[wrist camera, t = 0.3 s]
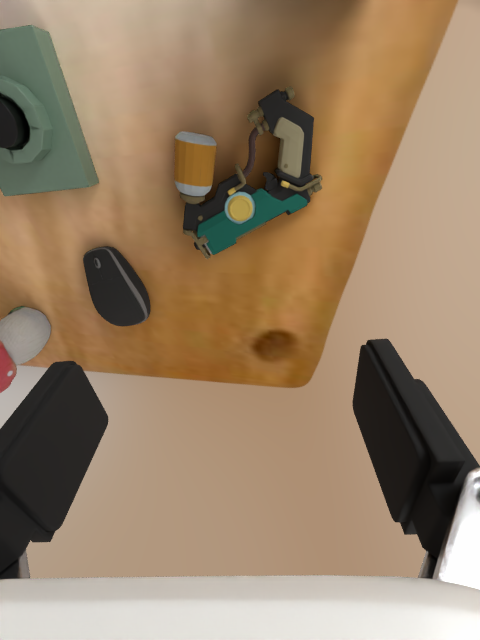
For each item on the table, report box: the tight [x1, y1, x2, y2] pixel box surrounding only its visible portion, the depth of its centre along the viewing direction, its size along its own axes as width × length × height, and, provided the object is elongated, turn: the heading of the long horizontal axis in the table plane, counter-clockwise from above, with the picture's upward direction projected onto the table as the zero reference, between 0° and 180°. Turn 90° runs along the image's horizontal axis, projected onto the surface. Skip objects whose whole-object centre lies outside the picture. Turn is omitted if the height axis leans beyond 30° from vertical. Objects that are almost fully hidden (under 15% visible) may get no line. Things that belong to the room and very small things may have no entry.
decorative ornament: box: [0, 306, 51, 393], centre depth 41 cm, size 9×6×15 cm
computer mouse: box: [83, 246, 150, 326], centre depth 41 cm, size 7×12×4 cm, turn 16°
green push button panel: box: [0, 25, 99, 196], centre depth 30 cm, size 13×10×4 cm
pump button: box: [0, 97, 29, 148], centre depth 28 cm, size 4×4×2 cm
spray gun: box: [174, 86, 322, 259], centre depth 33 cm, size 4×17×15 cm
